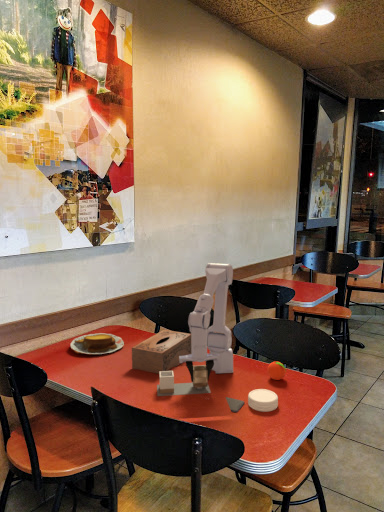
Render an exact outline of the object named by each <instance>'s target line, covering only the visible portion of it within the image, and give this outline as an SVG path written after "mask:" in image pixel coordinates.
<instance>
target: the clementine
mask: <svg viewBox="0 0 384 512" xmlns="http://www.w3.org/2000/svg"><path fill="white" fill-rule="evenodd" d="M266 370H267V374H268V376H269V378H271V379H272V380H274V381H279V380H282V379H283V378H284V377H285V375H286V372H287V369H286V367H285V365H284V364H283V363H281V362H280V361H276V360H274V361H273V362H271V363H269V364H268V366H267V369H266Z"/></svg>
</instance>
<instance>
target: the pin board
mask: <svg viewBox="0 0 384 512" xmlns="http://www.w3.org/2000/svg"><path fill="white" fill-rule="evenodd" d="M207 384H208V387H193V383H192V382H181V383H174V392H173V393H160V384H156V392H157V395H156V396H157V397H165V396H166V397H167V396H168V397H169V396H182V395H183V396H185V395H201V394H202V395H203V394H212V392H211V389H210V385H209V383H208V381H207Z"/></svg>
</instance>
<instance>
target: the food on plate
mask: <svg viewBox="0 0 384 512" xmlns="http://www.w3.org/2000/svg"><path fill="white" fill-rule="evenodd" d="M124 343H125V342H124V340H123V339H122V337H120V336H117V335H114V334H112V333H104V332H102V333H101V332H99V333H90V334H85V335H81V336H78V337H75V338H73V340H72V341H71V342H70V343H69V344H70V348H71V350H72V351H74V353H76V354H84V355H85V354H86V355H102V354H104V355H105V354H108V353H109V354H110V353H113V352H116V351H117V350H120V349H122V348H123V347H124V346H125V344H124Z"/></svg>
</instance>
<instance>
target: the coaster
mask: <svg viewBox="0 0 384 512" xmlns="http://www.w3.org/2000/svg"><path fill="white" fill-rule="evenodd" d="M278 400H279V397H278V394H277V393H275V392H274V391H272V390H270V389H265V388H258V389H253V390H251V391H249V392H248V395H247V404H248V406H249V407H250V408H251V409H253V410H255V411H257V412H262V413H264V412H266V413H268V412H272V411H275V410H276V409H277V408H278V407H279V401H278Z"/></svg>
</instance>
